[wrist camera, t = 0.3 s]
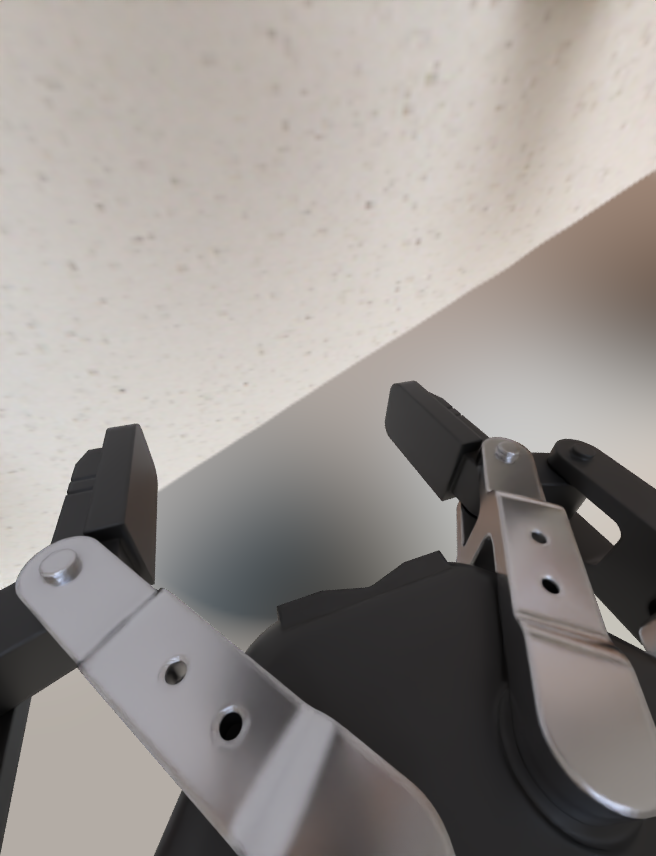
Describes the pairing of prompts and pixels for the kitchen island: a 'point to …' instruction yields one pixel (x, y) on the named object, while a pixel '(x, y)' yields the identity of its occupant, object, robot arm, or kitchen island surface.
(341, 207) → the kitchen island surface
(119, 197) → the kitchen island surface
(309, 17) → the kitchen island surface
